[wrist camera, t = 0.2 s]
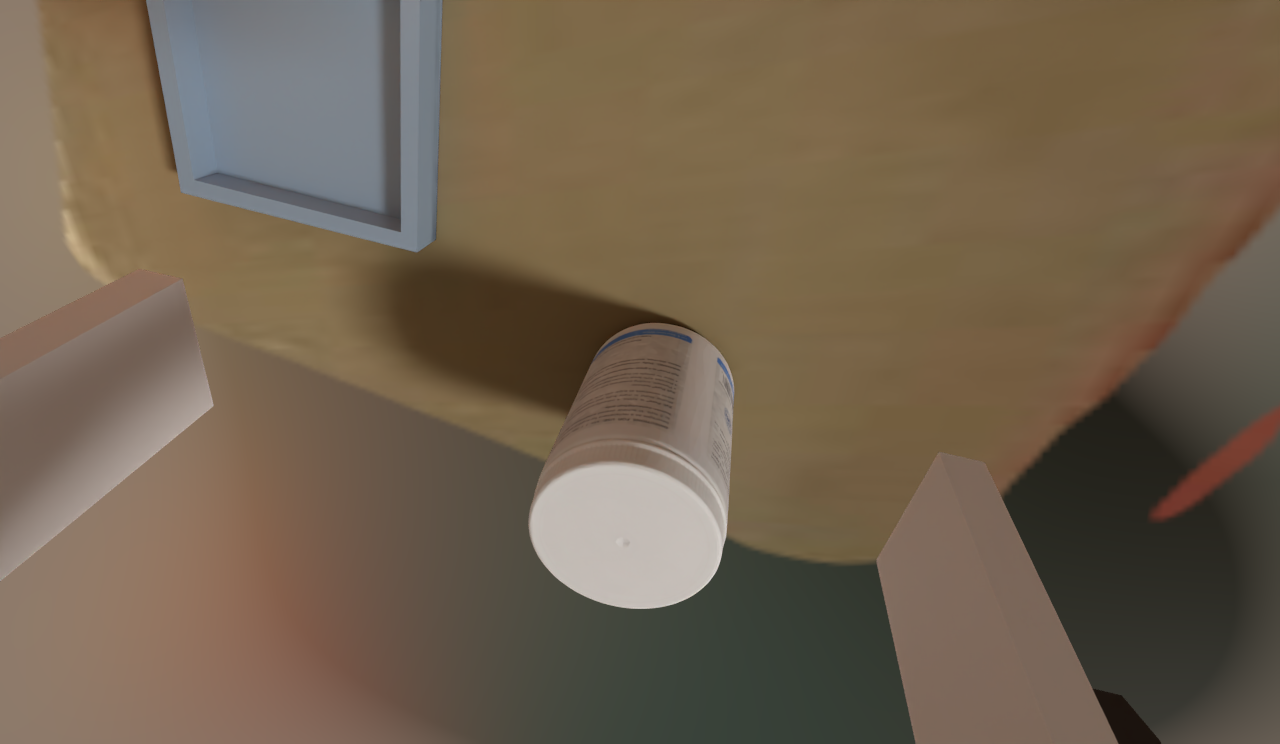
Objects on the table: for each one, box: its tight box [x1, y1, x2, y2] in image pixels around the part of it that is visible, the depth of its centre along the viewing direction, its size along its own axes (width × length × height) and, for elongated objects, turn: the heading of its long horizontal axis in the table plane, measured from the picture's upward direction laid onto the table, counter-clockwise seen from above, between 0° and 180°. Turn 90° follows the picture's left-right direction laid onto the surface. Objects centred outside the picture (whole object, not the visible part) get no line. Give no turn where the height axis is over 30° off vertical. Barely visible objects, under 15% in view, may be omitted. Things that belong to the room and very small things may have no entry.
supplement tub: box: [528, 323, 734, 609], centre depth 36 cm, size 10×10×15 cm
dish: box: [146, 0, 442, 252], centre depth 35 cm, size 15×15×2 cm
